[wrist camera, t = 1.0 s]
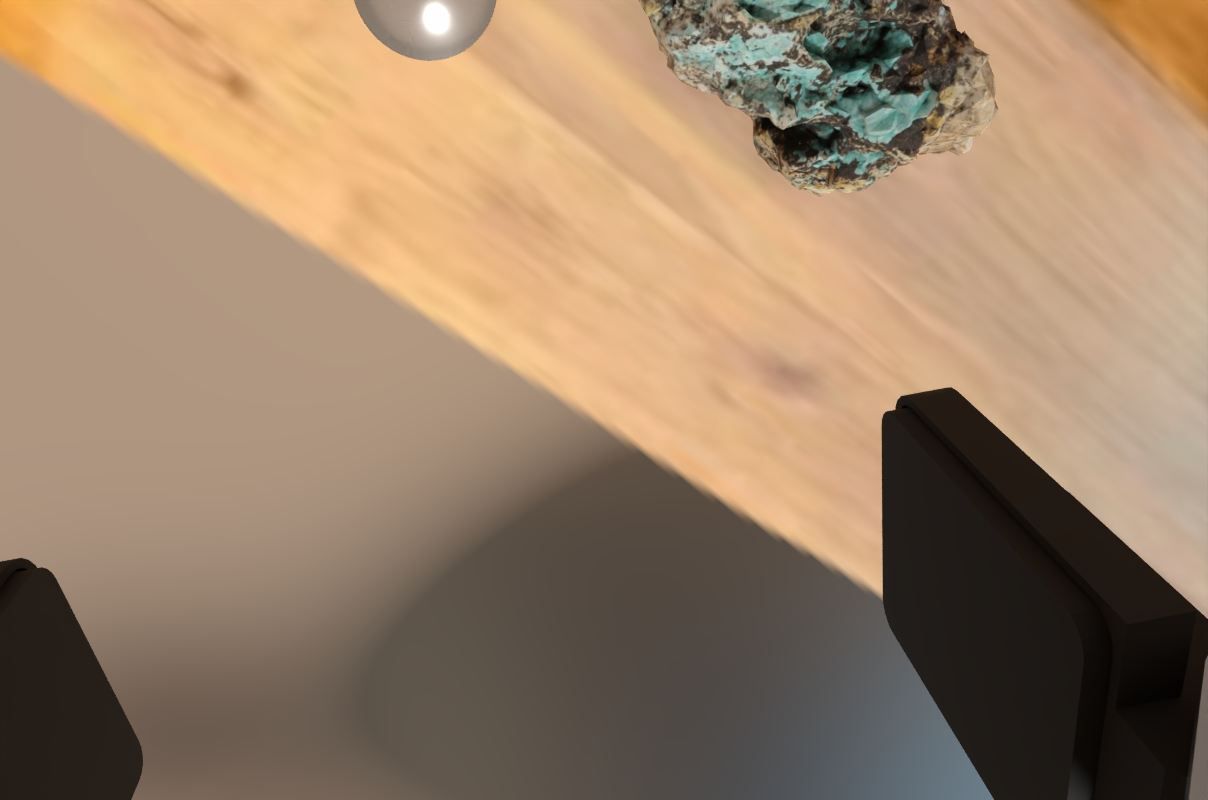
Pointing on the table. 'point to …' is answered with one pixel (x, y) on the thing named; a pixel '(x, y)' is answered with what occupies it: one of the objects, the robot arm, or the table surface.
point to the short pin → (427, 25)
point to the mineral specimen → (834, 80)
